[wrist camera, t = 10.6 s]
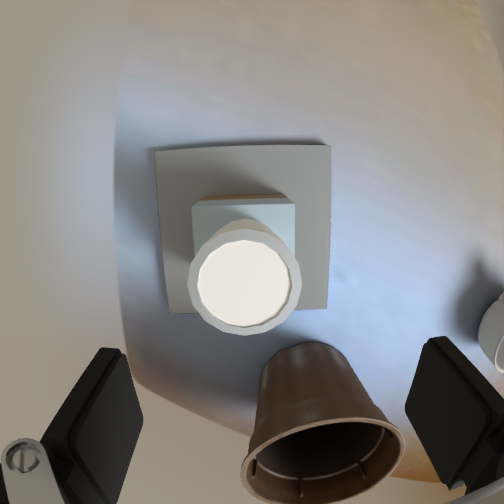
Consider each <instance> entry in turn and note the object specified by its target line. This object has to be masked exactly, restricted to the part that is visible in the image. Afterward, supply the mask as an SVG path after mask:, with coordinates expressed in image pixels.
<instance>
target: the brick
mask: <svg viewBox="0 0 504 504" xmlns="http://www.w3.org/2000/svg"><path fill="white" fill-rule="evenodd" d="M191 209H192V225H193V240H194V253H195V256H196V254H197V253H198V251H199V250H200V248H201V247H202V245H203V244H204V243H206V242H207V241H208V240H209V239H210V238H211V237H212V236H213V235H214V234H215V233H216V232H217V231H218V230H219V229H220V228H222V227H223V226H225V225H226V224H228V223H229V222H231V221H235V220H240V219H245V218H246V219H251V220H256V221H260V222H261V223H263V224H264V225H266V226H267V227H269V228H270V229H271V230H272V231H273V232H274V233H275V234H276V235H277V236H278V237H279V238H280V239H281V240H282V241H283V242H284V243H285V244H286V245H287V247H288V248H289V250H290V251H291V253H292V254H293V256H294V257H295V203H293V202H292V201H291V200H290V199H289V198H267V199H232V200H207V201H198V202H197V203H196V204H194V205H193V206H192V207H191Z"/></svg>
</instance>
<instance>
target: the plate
mask: <svg viewBox="0 0 504 504" xmlns="http://www.w3.org/2000/svg"><path fill="white" fill-rule="evenodd" d="M155 161H156V181H157V197H158V211H159V223H160V235H161V245H162V255H163V264H164V273H165V282H166V290H167V297H168V305H169V312H170V313H199V312H198V311H197V310H196V309H195V307H194V306H193V304H192V301H191V297H190V294H189V290H188V287H187V283H188V276H189V269H190V264H191V262H192V261H193V259H194V258H195V253H194V240H193V225H192V209H191V207H192V206H193V205H194V204H196V203H197V202H198V201H199V200H201V199H202V198H203V197H204V196H222V195H251V194H284V195H286V196H287V197H288V198H289V199H290V200H291V201H292V202H293V203H295V259H296V260H297V262H298V264H299V268H300V274H301V280H302V288H301V292H300V295H299V299H298V303H297V306H296V307H295V308H294V309H293V310H310V309H327V298H328V281H329V261H330V234H331V146H326V145H247V146H221V147H203V148H189V149H176V150H164V151H155Z"/></svg>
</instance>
